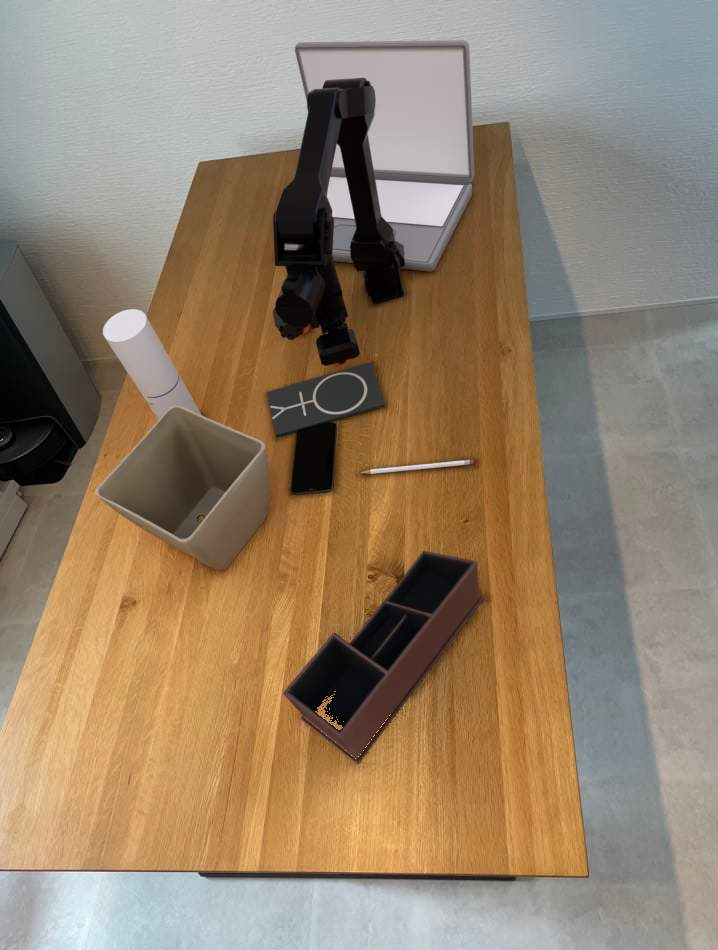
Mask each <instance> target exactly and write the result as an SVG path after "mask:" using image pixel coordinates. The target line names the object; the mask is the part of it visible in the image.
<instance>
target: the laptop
mask: <svg viewBox="0 0 718 950" xmlns="http://www.w3.org/2000/svg"><path fill="white" fill-rule="evenodd" d="M294 53H295V58H296V62H297V66H298V69H299V74H300V78H301V83H302V88H303V91H304V96H305V100H306V101H307V97H308V93H309V92H310V91H311V90H314V89H323V85H324V82H325V81H326V80H336V79H350V78H365V79H366V80H367V81H369V82H370V83H371V86H373V88H374V91H375V98H376V105H375V110H374V112H375V115H374V118H373V121H372V124H371V126H370V129H369V132H368V139H369V145H370V151H371V157H372V163H373V169H374V175H375V181H376V187H377V193H378V199H379V205H380V211H381V216H382V217H383V218H384V219H385V221H386V222H387V223H388V224H389V225H390V226H391V227H392V229H393V233H394V237H395V241H397V242H399V243H401V244H402V245H404V252H405V254H404V258H405V266H403V267H401V268H400V270H401V269H402V270H409V271H410V270H411V271H417V272H418V271H419V272H428V273H430V272H433V271H434V270H436V268H437V266H438V265H439V262H440V259H441V258H442V256H443V254H444V252H445V250H446V248H447V246H448V244H449V242H450V240H451V238H452V236H453V234H454V232H455V230H456V228H457V227H458V223H460V220H461V218H462V217H463V214H464V212H465V210H466V208H467V206H468V204H469V202H470V200H471V198H472V196H473V185H472V182H473V181H474V178H475V176H476V175H475V154H474V153H475V152H474V129H473V126H474V125H473V108H472V107H473V106H472V104H473V102H472V101H473V100H472V78H471V77H472V76H471V53H470V44H469V41H467V40H465V39H448V40H447V39H446V40H445V39H441V40H440V39H439V40H438V39H437V40H375V41H374V40H371V41H369V40H368V41H304V42H303V41H301V42H298V43H296V45H295V47H294ZM327 198H328V200H329V203H330V205H331V208H332V217H333V219H334V234H333V252H332V256H333V260H334V262H336V263H337V262H338V263H347V264H353V261H352V259H351V255H350V245H351V240H352V238H353V236H354V233H355V231H356V223H355V218H354V213H353V208H352V203H351V199H350V194H349V189H348V184H347V179H346V174H345V169H344V164H343V160H342V155H341V150H340V147H339V145H338V144H337V146H336V151H335V155H334V160H333V165H332V170H331V175H330V180H329V185H328V192H327ZM297 246H298V245H287V244H285V249H284V250H296V248H297Z"/></svg>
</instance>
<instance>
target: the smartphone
mask: <svg viewBox="0 0 718 950" xmlns="http://www.w3.org/2000/svg"><path fill="white" fill-rule="evenodd" d="M337 437H338V425H337V423H335V422H330V423H323V424H319V425H315V426H312V427H308V428H304V429H301V430H298V431H297V432H295V442H294V443H295V444H294V452H293V462H292V471H291V481H290V493H291V494H292V495H294V496H303V495H304V496H305V495H314V494H315V495H316V494H327V493H331V492H332V491H333V490H334V486H335V473H336V472H335V471H336V457H337V456H336V453H337Z"/></svg>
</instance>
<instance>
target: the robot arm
mask: <svg viewBox="0 0 718 950" xmlns="http://www.w3.org/2000/svg"><path fill="white" fill-rule="evenodd" d="M375 105H376V98H375V91H374V88H373V86H371V83H370V82H369V81H367V80H366V79H365V78H350V79H336V80H326V81H325V82H324V85H323V89H314V90H311V91H310V92H309V93H308V97H307V100H306V109H307V114H306V115H307V116H306V120H305V125H304V129H303V133H302V139H301V145H300V148H299V149H300V150H299V153H298V154H299V155H298V159H297V163H296V168H295V173H294V176H293V180H291V181H290V182H289V183H288V184H287V185H286V186H285V188H283V189H282V191H281V193H280V195H279V199H278V202H277V205H276V209H275V210H274V213H273V217H272V219H273V220H272V226H273V227H272V228H273V252H274V253H273V255H274V256H273V257H274V266H275V267H285V270H286V274H287V275H286V278H285V279H284V281H283V282H282V283H281V284H282V285H281V287H280V292H279V293H278V295H277V298H276V300H275V304H274V307H273V309H272V318H273V323H274V326H275V327H276V328H277V330H278V331H279V333H280V337H281V338H282V339H287V340H289V341H294V340H295V339H297V338H298V337H299V336H301V335H304V334H303V332H304V328H306V327H307V326H308V325H310V329H311V330H314V329H318V328H320V330H321V334H320V335H319V336H318V337H317V338H316V339H315V345H316V349H317V353H318V357H319V361H320V364H321V366H324V367H328V366H331V365H332V364H335V363H339V364H344V363H345V362H346V360H349V359H350V360H352V359H355V358H359V356H360V354H361V351H360V348H359V343H358V341H357V337H356V334H355V331H354V330H353V328H349V325H348V323H347V322H346V320H347V318H348V317H349V315H348V311H347V307H346V303H345V300H344V295H343V290H342V286H341V283H340V279H339V276H338V272H337V268H336V264H335V261H334V260H333V256H332V252H333V234H334V219H333V217H332V208H331V205H330V203H329V200H328V198H327V192H328V185H329V180H330V175H331V170H332V165H333V160H334V155H335V151H336V146H337V144H338V145H339V147H340V150H341V155H342V160H343V164H344V169H345V174H346V179H347V184H348V189H349V194H350V199H351V203H352V208H353V213H354V218H355V223H356V231H355V233H354V236H353V238H352V240H351V245H350V255H351V259H352V261H353V263H352V264H353V266H354V268H355V270H356V272H362V273H361V274H362V278H363V282H364V287H365V291H366V294H367V297H369V298H370V299H371V300H370V301H371V302H372V304H373V305H376V304H380V303H383V302H386V301H390V300H394V299H397V298H401V297H403V296H405V291H404V288H403V285H402V281H401V280H402V279H401V274H400V273H401V272H400V270H401V269H400V268H401V267H403V266H405V258H404V254H405V252H404V245H402V244H401V243H399V242H397V241H395V237H394V233H393V229H392V227H391V226H390V225H389V224H388V223H387V222H386V221H385V219H384V218H383V217H382V216H381V211H380V205H379V199H378V193H377V187H376V181H375V175H374V169H373V163H372V157H371V151H370V145H369V139H368V132H369V129H370V126H371V124H372V121H373V118H374V115H375V112H374V110H375ZM285 244H287V245H298V246H297V248H296V250H284V249H285ZM332 366H333V365H332Z"/></svg>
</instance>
